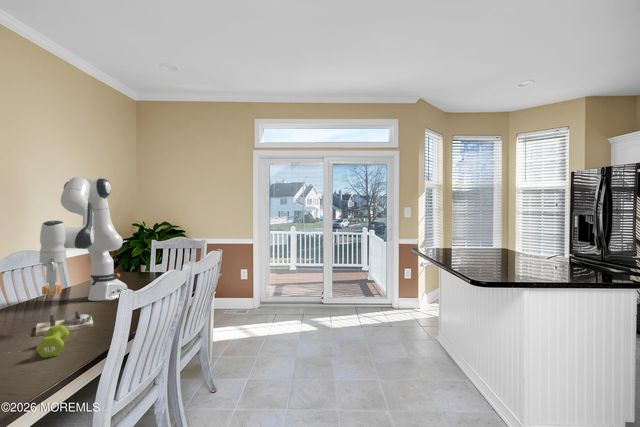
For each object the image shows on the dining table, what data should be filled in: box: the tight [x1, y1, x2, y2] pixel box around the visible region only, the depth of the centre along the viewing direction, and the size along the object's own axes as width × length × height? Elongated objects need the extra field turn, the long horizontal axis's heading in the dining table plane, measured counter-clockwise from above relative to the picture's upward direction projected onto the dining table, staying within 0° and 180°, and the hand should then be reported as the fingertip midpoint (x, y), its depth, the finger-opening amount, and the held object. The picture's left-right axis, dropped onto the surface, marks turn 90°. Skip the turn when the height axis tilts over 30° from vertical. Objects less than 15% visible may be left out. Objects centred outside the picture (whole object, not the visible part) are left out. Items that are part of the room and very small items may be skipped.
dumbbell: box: [35, 325, 70, 359], centre depth 128 cm, size 16×8×7 cm, turn 29°
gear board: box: [35, 310, 94, 337], centre depth 152 cm, size 20×13×6 cm, turn 128°
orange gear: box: [41, 284, 63, 296], centre depth 149 cm, size 7×7×3 cm
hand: (52, 289), depth 149 cm, fingers closed on orange gear, 7 cm apart
